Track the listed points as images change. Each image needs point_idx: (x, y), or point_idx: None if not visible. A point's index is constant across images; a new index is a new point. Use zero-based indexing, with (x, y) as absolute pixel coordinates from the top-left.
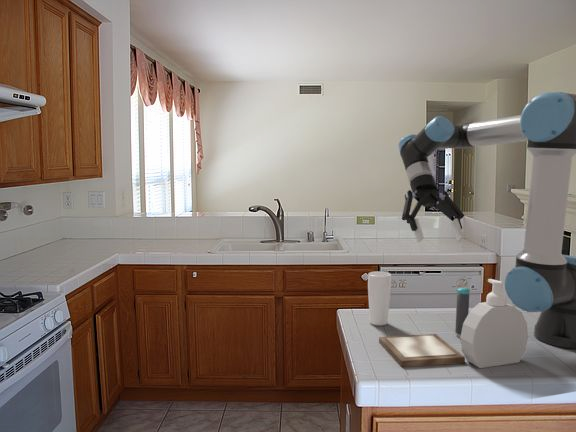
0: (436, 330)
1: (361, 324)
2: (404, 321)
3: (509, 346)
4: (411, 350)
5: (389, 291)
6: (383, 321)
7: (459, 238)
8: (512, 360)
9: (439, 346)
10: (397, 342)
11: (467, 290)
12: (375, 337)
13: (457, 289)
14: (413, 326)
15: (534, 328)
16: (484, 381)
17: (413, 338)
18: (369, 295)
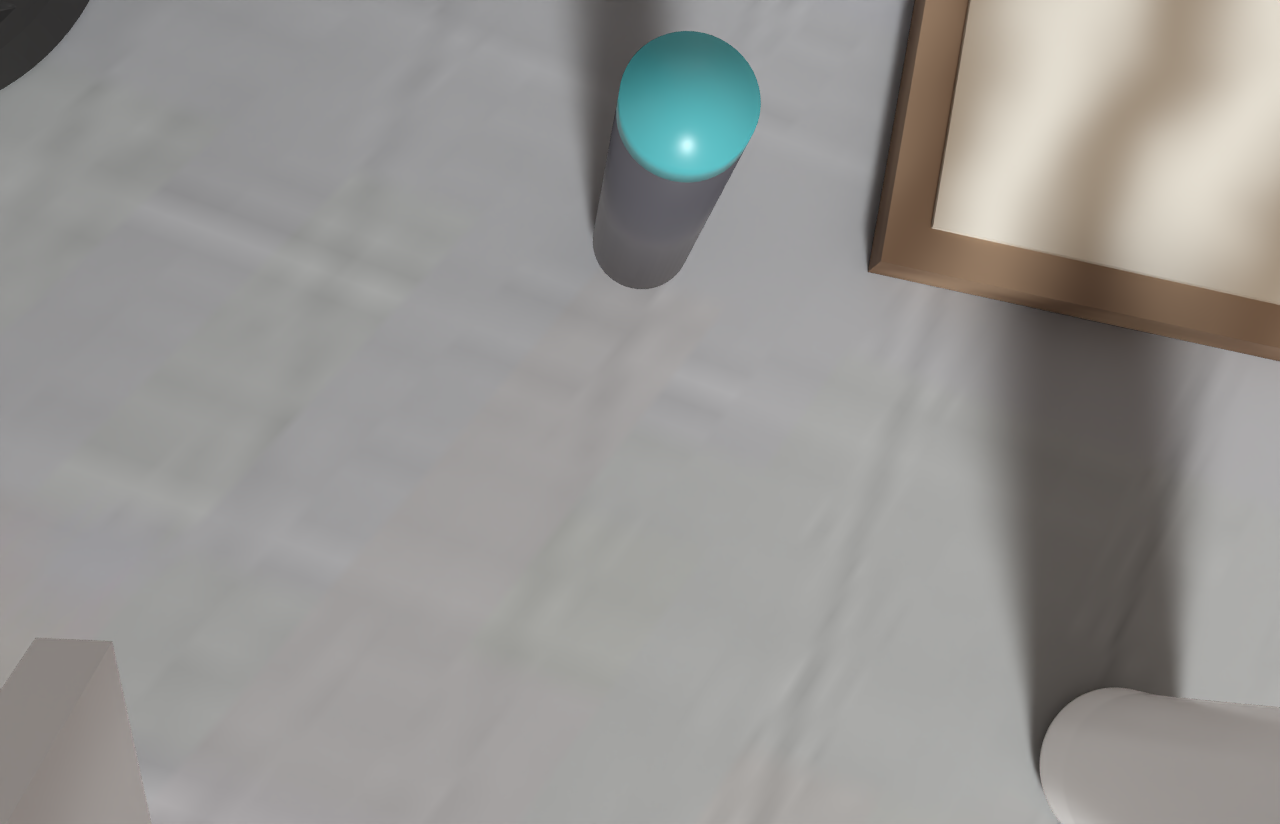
0: (737, 440)
1: None
2: (866, 737)
3: None
4: (1241, 37)
5: (1245, 731)
6: (1123, 690)
7: (116, 757)
8: None
9: (1017, 25)
10: (1262, 198)
11: (683, 36)
12: (1276, 468)
13: (754, 129)
14: (863, 592)
15: (21, 30)
16: None
17: (1110, 225)
18: None
